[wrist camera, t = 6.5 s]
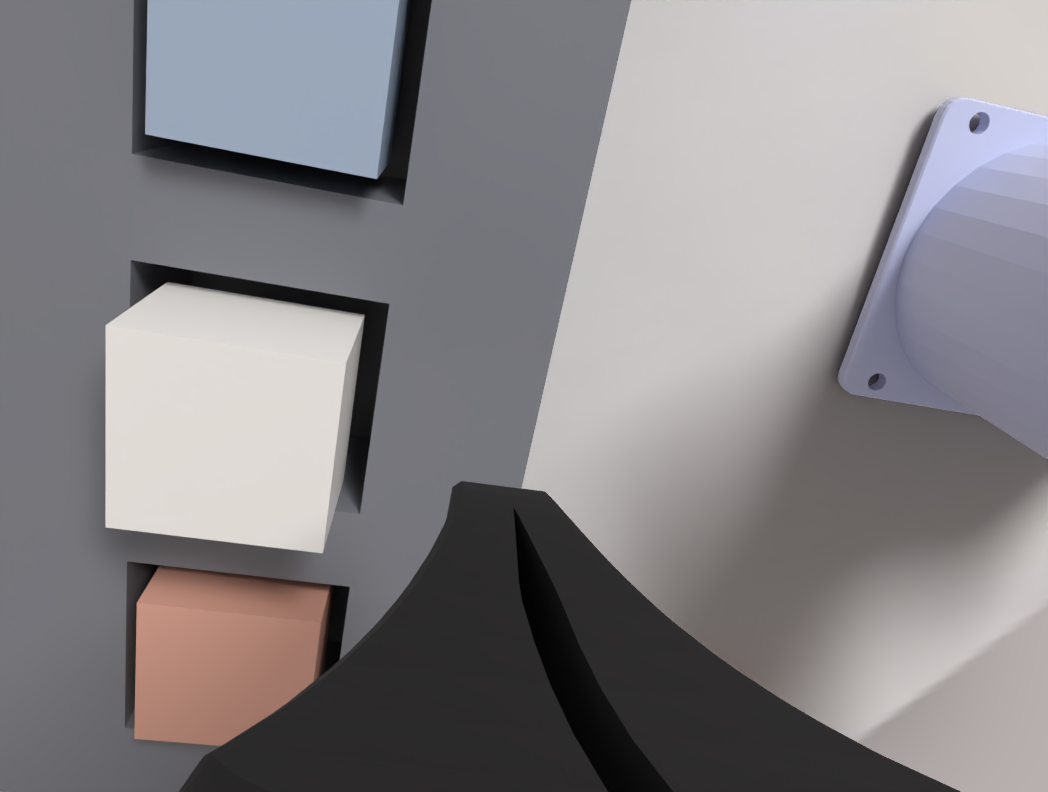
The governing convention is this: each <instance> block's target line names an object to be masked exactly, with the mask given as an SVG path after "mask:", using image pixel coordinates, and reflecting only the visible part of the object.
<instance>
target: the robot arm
mask: <svg viewBox="0 0 1048 792" xmlns="http://www.w3.org/2000/svg"><path fill="white" fill-rule="evenodd" d="M975 114H978V115H979V118H980V121H979V125H978V127H977V128H976V130H974V131H973V132H971V131H970V129H969V122H970V120H971V118H972V117H973V115H975ZM877 373H879V379H878V380H877V382H876V383H874V384H873V385H868V380H869V379H870V378H871V376H873V375H874V374H877ZM838 381H839V384H840V386H841V387H842V388H843V389H844V390H846V391H847V392H848V393H850V394H853V395H858V396H864V397H870V398H876V399H882V400H888V401H894V402H900V403H906V404H912V405H918V406H924V407H930V408H936V409H942V410H948V411H954V412H960V413H966V414H972V415H978V416H980V417H982V418H983V419H985V420H986V421H988V422H989V423H991V424H993V425H994V426H996V427H997V428H999V429H1000V430H1002V431H1003V432H1005V433H1007V434H1008V435H1010V436H1011V437H1013V438H1014V439H1016V440H1017V441H1019V442H1021V443H1022V444H1024V445H1025V446H1027V447H1028V448H1030V449H1031V450H1033V451H1035V452H1036V453H1038V454H1039V455H1041V456H1042V457H1044V458H1045V459H1047V460H1048V116H1043V115H1039V114H1035V113H1031V112H1026V111H1022V110H1018V109H1014V108H1009V107H1005V106H1001V105H997V104H992V103H988V102H984V101H980V100H976V99H971V98H951V99H949V100H947V101H945V102H944V103H943V104H942V105H941V106H940V107H939V108H938V110H937V112H936V114H935V116H934V119H933V121H932V124H931V127H930V129H929V132H928V135H927V138H926V140H925V143H924V146H923V148H922V151H921V154H920V156H919V159H918V162H917V164H916V167H915V170H914V172H913V175H912V178H911V180H910V183H909V186H908V188H907V191H906V194H905V196H904V199H903V202H902V204H901V207H900V210H899V212H898V215H897V218H896V221H895V223H894V226H893V229H892V231H891V234H890V237H889V239H888V242H887V245H886V247H885V250H884V253H883V255H882V258H881V261H880V263H879V266H878V269H877V271H876V274H875V277H874V279H873V282H872V285H871V287H870V290H869V293H868V295H867V298H866V301H865V304H864V306H863V309H862V312H861V314H860V317H859V320H858V322H857V325H856V328H855V330H854V333H853V336H852V338H851V341H850V344H849V346H848V349H847V352H846V354H845V357H844V360H843V362H842V365H841V368H840V370H839V374H838ZM179 792H960V791H958V790H956V789H954V788H951V787H949V786H947V785H945V784H943V783H940V782H938V781H936V780H934V779H932V778H930V777H927V776H925V775H923V774H921V773H919V772H917V771H915V770H912V769H910V768H908V767H906V766H903V765H902V764H899V763H897V762H895V761H893V760H891V759H889V758H886V757H884V756H882V755H880V754H878V753H876V752H874V751H872V750H870V749H869V748H866V747H865V746H863V745H861V744H859V743H857V742H856V741H854V740H852V739H850V738H848V737H846V736H844V735H843V734H841V733H839V732H837V731H835V730H833V729H831V728H830V727H828V726H826V725H824V724H822V723H820V722H819V721H817V720H815V719H813V718H812V717H810V716H808V715H807V714H805V713H803V712H802V711H800V710H798V709H796V708H795V707H793V706H791V705H790V704H788V703H786V702H785V701H783V700H781V699H780V698H778V697H777V696H775V695H774V694H772V693H771V692H769V691H768V690H766V689H765V688H763V687H762V686H760V685H758V684H757V683H755V682H754V681H752V680H751V679H749V678H748V677H746V676H745V675H743V674H742V673H740V672H739V671H737V670H736V669H734V668H733V667H731V666H730V665H729V664H727V663H726V662H724V661H723V660H722V659H720V658H719V657H717V656H716V655H715V654H713V653H712V652H711V651H709V650H708V649H707V648H706V647H704V646H703V645H702V644H700V643H699V642H698V641H697V640H695V639H694V638H693V637H691V636H690V635H689V634H688V633H686V632H685V631H684V630H682V629H681V628H680V627H679V626H677V625H676V624H675V623H674V622H673V621H672V620H670V619H669V618H668V617H667V616H666V615H664V614H663V613H662V612H661V611H660V610H659V609H658V608H657V607H655V606H654V605H653V604H652V603H651V602H650V601H649V600H648V599H647V598H646V597H645V596H644V595H643V594H641V593H640V592H639V591H638V590H637V589H636V588H635V587H634V586H633V585H632V584H631V583H630V582H629V581H628V580H627V579H626V578H625V577H624V576H623V575H622V574H621V573H620V572H619V571H618V570H617V569H616V568H615V567H614V566H613V565H612V564H611V563H610V562H609V561H608V560H607V559H606V558H605V557H604V556H603V555H602V554H601V553H600V551H599V550H598V549H597V548H596V547H595V546H594V545H593V544H592V543H591V542H590V541H589V540H588V538H587V537H586V536H585V535H584V534H583V533H582V532H581V531H580V530H579V528H578V527H577V526H576V525H575V524H574V523H573V522H572V521H571V519H570V518H569V517H568V516H567V515H566V514H565V513H564V511H563V510H562V509H561V508H560V507H559V506H558V505H557V504H556V503H555V501H554V500H553V499H552V498H551V497H550V496H549V495H548V494H547V493H546V492H543V491H536V490H528V489H520V488H513V487H505V486H497V485H489V484H482V483H474V482H466V481H461V482H459V483H458V484H456V485H455V486H453V487H452V492H451V497H450V502H449V508H448V513H447V518H446V521H445V524H444V526H443V528H442V530H441V532H440V534H439V535H438V537H437V539H436V541H435V543H434V545H433V547H432V549H431V551H430V552H429V554H428V556H427V557H426V559H425V560H424V562H423V563H422V565H421V566H420V568H419V569H418V571H417V572H416V574H415V576H414V577H413V579H412V580H411V582H410V583H409V584H408V586H407V587H406V588H405V590H404V591H403V592H402V594H401V595H400V596H399V598H398V599H397V600H396V601H395V603H394V604H393V605H392V606H391V607H390V609H389V610H388V611H387V612H386V613H385V614H384V616H383V617H382V618H381V619H380V620H379V621H378V622H377V624H376V625H375V626H374V627H373V628H372V629H371V630H370V631H369V632H368V633H367V634H366V635H365V636H364V637H363V638H362V639H361V640H360V641H359V642H358V643H357V644H356V645H355V646H354V647H353V648H352V649H351V650H350V651H349V652H348V653H347V654H346V655H345V656H344V657H343V658H341V659H340V660H339V661H338V662H337V663H336V664H335V665H334V666H333V667H331V668H330V669H329V670H328V671H326V672H325V673H324V674H323V675H321V676H320V677H319V678H318V679H316V680H315V681H314V682H313V683H311V684H310V685H309V686H308V687H306V688H305V689H304V690H302V691H301V692H300V693H299V694H297V695H296V696H295V697H294V698H292V699H291V700H290V701H289V702H287V703H286V704H285V705H283V706H282V707H280V708H279V709H278V710H276V711H275V712H273V713H272V714H271V715H269V716H267V717H266V718H264V719H263V720H261V721H260V722H258V723H256V724H255V725H253V726H252V727H250V728H249V729H247V730H245V731H244V732H242V733H241V734H239V735H238V736H236V737H234V738H233V739H231V740H230V741H228V742H226V743H225V744H223V745H222V746H220V747H219V748H217V749H215V750H213V751H212V752H210V753H208V754H206V755H205V756H203V758H202V759H201V760H200V762H199V763H198V765H197V766H196V767H195V769H194V770H193V772H192V773H191V774H190V776H189V777H188V779H187V780H186V782H185V783H184V785H183V786H182V788H181V789H180V791H179Z"/></svg>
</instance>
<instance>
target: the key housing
mask: <svg viewBox="0 0 1048 792" xmlns="http://www.w3.org/2000/svg"><path fill="white" fill-rule="evenodd" d="M630 3H631V0H411V6H410V14H409V21H408V29H407V37H406V44H405V52H404V59H403V67H402V75H401V82H400V90H399V98H398V105H397V113H396V120H395V128H394V136H393V143H392V151H391V159H390V163H389V164H388V166H387V167H386V168H385V169H384V171H383V172H382V173H381V174H380V176H379V177H378V178H377V179H374V178H369V177H363V176H358V175H353V174H348V173H343V172H338V171H332V170H327V169H322V168H317V167H312V166H307V165H301V164H296V163H291V162H286V161H281V160H276V159H270V158H265V157H260V156H255V155H250V154H245V153H239V152H234V151H229V150H224V149H219V148H213V147H208V146H203V145H198V144H193V143H188V142H182V141H177V140H172V139H167V138H162V137H157V136H151V135H146V134H145V114H146V60H147V5H148V0H0V792H179V791H180V789H181V788H182V786H183V785H184V783H185V782H186V780H187V779H188V777H189V776H190V774H191V773H192V772H193V770H194V769H195V767H196V766H197V765H198V763H199V762H200V760H201V759H202V758H203V756H205V755H206V754H208V753H210V752H212V751H213V750H215V749H217V748H219V747H220V746H216V745H203V744H191V743H179V742H166V741H154V740H142V739H134V728H135V674H136V620H137V602H138V600H139V598H140V597H141V595H142V594H143V592H144V590H145V589H146V587H147V585H148V584H149V582H150V580H151V579H152V577H153V576H154V574H155V572H156V571H157V569H158V567H159V566H160V565H163V566H172V567H181V568H190V569H198V570H207V571H216V572H225V573H234V574H242V575H251V576H260V577H269V578H278V579H286V580H295V581H304V582H313V583H321V584H330V585H335V586H334V594H333V601H332V609H331V616H330V624H329V632H328V639H327V647H326V655H325V662H324V669H323V673H322V675H323V674H324V673H325V672H326V671H328V670H329V669H330V668H331V667H333V666H334V665H335V664H336V663H337V662H338V661H339V660H340V659H341V658H343V657H344V656H345V655H346V654H347V653H348V652H349V651H350V650H351V649H352V648H353V647H354V646H355V645H356V644H357V643H358V642H359V641H360V640H361V639H362V638H363V637H364V636H365V635H366V634H367V633H368V632H369V631H370V630H371V629H372V628H373V627H374V626H375V625H376V624H377V622H378V621H379V620H380V619H381V618H382V617H383V616H384V614H385V613H386V612H387V611H388V610H389V609H390V607H391V606H392V605H393V604H394V603H395V601H396V600H397V599H398V598H399V596H400V595H401V594H402V592H403V591H404V590H405V588H406V587H407V586H408V584H409V583H410V582H411V580H412V579H413V577H414V576H415V574H416V572H417V571H418V569H419V568H420V566H421V565H422V563H423V562H424V560H425V559H426V557H427V556H428V554H429V552H430V551H431V549H432V547H433V545H434V543H435V541H436V539H437V537H438V535H439V534H440V532H441V530H442V528H443V526H444V524H445V521H446V518H447V513H448V508H449V502H450V497H451V492H452V487H453V486H455V485H456V484H458V483H459V482H461V481H466V482H474V483H482V484H489V485H497V486H505V487H513V488H520V489H521V487H522V483H523V478H524V474H525V469H526V465H527V460H528V456H529V451H530V447H531V443H532V438H533V434H534V429H535V425H536V420H537V416H538V411H539V407H540V403H541V398H542V394H543V389H544V385H545V380H546V376H547V372H548V367H549V363H550V358H551V354H552V349H553V345H554V340H555V336H556V332H557V327H558V323H559V318H560V314H561V309H562V305H563V300H564V296H565V292H566V287H567V283H568V278H569V274H570V269H571V265H572V261H573V256H574V252H575V247H576V243H577V238H578V234H579V229H580V225H581V221H582V216H583V212H584V207H585V203H586V198H587V194H588V189H589V185H590V181H591V176H592V172H593V167H594V163H595V158H596V154H597V149H598V145H599V141H600V136H601V132H602V127H603V123H604V118H605V114H606V110H607V105H608V101H609V96H610V92H611V87H612V83H613V78H614V74H615V70H616V65H617V61H618V56H619V52H620V47H621V43H622V38H623V34H624V30H625V25H626V21H627V16H628V12H629V7H630ZM167 282H172V283H178V284H184V285H190V286H196V287H202V288H208V289H214V290H220V291H226V292H232V293H238V294H244V295H250V296H256V297H262V298H268V299H274V300H280V301H286V302H292V303H298V304H304V305H310V306H316V307H322V308H328V309H334V310H340V311H346V312H352V313H358V314H364V315H365V318H364V326H363V333H362V341H361V349H360V357H359V364H358V372H357V380H356V388H355V396H354V403H353V411H352V419H351V427H350V434H349V442H348V450H347V458H346V466H345V473H344V480H343V484H342V487H341V491H340V494H339V498H338V501H337V505H336V508H335V512H334V516H333V519H332V523H331V526H330V530H329V533H328V537H327V540H326V544H325V547H324V551H323V553H315V552H307V551H299V550H290V549H282V548H273V547H265V546H257V545H248V544H240V543H232V542H223V541H215V540H207V539H198V538H190V537H182V536H173V535H165V534H156V533H148V532H140V531H131V530H123V529H115V528H106V527H105V491H106V325H107V324H108V323H109V322H111V321H112V320H114V319H115V318H117V317H118V316H119V315H121V314H122V313H124V312H125V311H127V310H128V309H129V308H131V307H132V306H134V305H135V304H137V303H138V302H139V301H141V300H142V299H144V298H145V297H147V296H148V295H149V294H151V293H152V292H154V291H155V290H157V289H158V288H159V287H161V286H162V285H164V284H165V283H167Z"/></svg>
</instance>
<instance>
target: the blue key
mask: <svg viewBox="0 0 1048 792" xmlns="http://www.w3.org/2000/svg"><path fill="white" fill-rule="evenodd" d="M410 6H411V0H148V5H147V60H146V114H145V134H146V135H151V136H157V137H162V138H167V139H172V140H177V141H182V142H188V143H193V144H198V145H203V146H208V147H213V148H219V149H224V150H229V151H234V152H239V153H245V154H250V155H255V156H260V157H265V158H270V159H276V160H281V161H286V162H291V163H296V164H301V165H307V166H312V167H317V168H322V169H327V170H332V171H338V172H343V173H348V174H353V175H358V176H363V177H369V178H374V179H377V178H378V177H379V176H380V174H381V173H382V172H383V171H384V169H385V168H386V167H387V166H388V164H389V163H390V159H391V151H392V143H393V136H394V128H395V120H396V113H397V105H398V98H399V90H400V82H401V75H402V67H403V59H404V52H405V44H406V37H407V29H408V21H409V14H410Z"/></svg>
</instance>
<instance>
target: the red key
mask: <svg viewBox="0 0 1048 792" xmlns="http://www.w3.org/2000/svg"><path fill="white" fill-rule="evenodd" d="M334 586H335V585H330V584H321V583H313V582H304V581H295V580H286V579H278V578H269V577H260V576H251V575H242V574H234V573H225V572H216V571H207V570H198V569H190V568H181V567H172V566H163V565H160V566H159V567H158V569H157V571H156V572H155V574H154V576H153V577H152V579H151V580H150V582H149V584H148V585H147V587H146V589H145V590H144V592H143V594H142V595H141V597H140V598H139V600H138V602H137V620H136V674H135V728H134V739H142V740H154V741H166V742H179V743H191V744H203V745H216V746H222V745H223V744H225V743H226V742H228V741H230V740H231V739H233V738H234V737H236V736H238V735H239V734H241V733H242V732H244V731H245V730H247V729H249V728H250V727H252V726H253V725H255V724H256V723H258V722H260V721H261V720H263V719H264V718H266V717H267V716H269V715H271V714H272V713H273V712H275V711H276V710H278V709H279V708H280V707H282V706H283V705H285V704H286V703H287V702H289V701H290V700H291V699H292V698H294V697H295V696H296V695H297V694H299V693H300V692H301V691H302V690H304V689H305V688H306V687H308V686H309V685H310V684H311V683H313V682H314V681H315V680H316V679H318V678H319V677H320V676H321V675H322V673H323V669H324V662H325V655H326V647H327V639H328V632H329V624H330V616H331V609H332V601H333V594H334Z"/></svg>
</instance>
